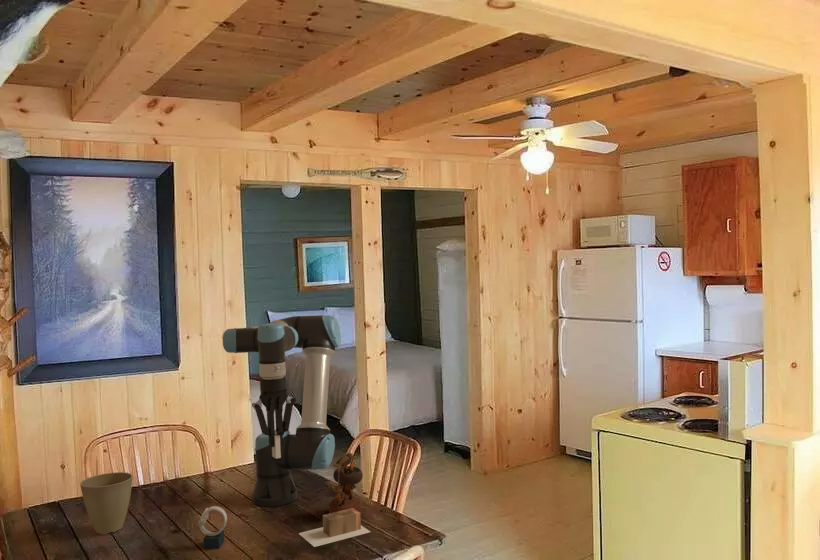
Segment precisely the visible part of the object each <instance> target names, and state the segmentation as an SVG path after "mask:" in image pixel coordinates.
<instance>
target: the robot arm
mask: <svg viewBox="0 0 820 560" xmlns="http://www.w3.org/2000/svg"><path fill="white" fill-rule="evenodd" d="M341 337H342V336H341V328H340V324H339V322H338V319H337V318H336V317H335V316H333V315H324V314H322V315H319V314H318V315H295V316H294V315H293V316H289V317H284V318H280V319H276V320H273V321H270V323H264V324H260V325H253V326H249V327H248V326H247V327H242V328H241V327H240V328H239V327H238V328H237V327H234V328H227V329H226V330H225V331H224V333H223V335H222V347H223V349H224V351H225V352H227V353H229V354H230V353H233V354H240V353H246V354H247V353H258V371H259V377H260V379H259V391H260V395H259V399H258V400H257V401H256V402H253V403H252V404H251V406H252V408H253V409H254V411H255V414H256V416H257V420H258V421H257V422H258V424H259V428H260V430H261V431H260V432H261V433H259V434H258V435H257V436H256V438H255V440H254V441H255V447H254V451H255V453H254V454H255V471H256V472H255V473H256V481H255V483H254V487H253V490H252V494H251V495H252V496H251V498H252V501H251V503H253V504H254V505H256V506H259V507H276V506H277V507H278V506H283V505H286V504H290V503H292V502H294V501H296V499H298V490H297V487H296V484H295V481H294V479H293V477H292V470H309V471H310V470H313V471H317V470H326V469H328V467H329V466H330V465H331V463H332V462H333V458H334V455H335V449H336V443H335V441H336V440H335V436H334V435H333V434H332V433H331V429H330V428H329V427H328V425H327V417H328V416H327V414H328V413H327V412H328V400H329V398H328V396H329V384H330V381H329V380H330V369H331V357H333V355H335V354H336V353H335V352H336V349H338V348H339V347H341V344H342V343H341V342H342V338H341ZM292 349H301V350H302V353H303V354H304V355H305V366H304V380H303V381H304V382H303V395H302V406H301V422H300V424H299V425H298V426H297V427H296V429H295V433H294V434H291V432H290V425H291V418H292V413H293V407H294V405H295V404H296V403H295V402H296V398H295V397H292V396H289V393H288V392H287V377H286V375H287V371H286V370H287V369H286V352H289V351H291V350H292ZM284 406H285V407H284ZM263 407H265V412H266V418H265V414H264V411H263ZM283 408H284V409H283ZM283 412H284V413H283Z"/></svg>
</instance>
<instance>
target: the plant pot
mask: <svg viewBox="0 0 820 560" xmlns="http://www.w3.org/2000/svg"><path fill="white" fill-rule="evenodd" d="M133 478H134V477H133V474H132V473H130V472H124V471H123V472H119V471H118V472H116V471H115V472H109V473H108V472H106V473H100V474H97V475H93V476H90V477H88V478H85V479H83V480H81V482H80V483H79V484H80V489H81V490H80V491H81V495H82V498H83V503H84V506H85V510H86V513H87V515H88V518H89V520H90V522H91V525H92V526H93V528H94V530H95V533H96V532H98V533H110V532H115V531H117V530H119V529H121V528H123V526H124V523H125V520H126V517H127V513H128V510H129V505H130V500H131V495H132V493H131V492H132V486H133ZM121 530H122V529H121ZM119 531H120V530H119ZM115 533H116V532H115Z"/></svg>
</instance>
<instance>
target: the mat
mask: <svg viewBox="0 0 820 560" xmlns="http://www.w3.org/2000/svg"><path fill="white" fill-rule="evenodd" d="M369 533H371V531H370V530H368V529H367V528H366V527H365V526H363V525H362V524H361V529H360V530H356V531H353V532H349V533H345V534H341V535H337V536H334V537H329V536H328V535H327V534H325V533H324V532H323V526H322V527H319V528H315V529H310V530H306V531H302V532H299V533H298V534H299V536H300V537H302V538H303V539H304V540H305V541H306V542H308V543H309V544H311V546H312V547H314V548H316V547H319V546H320V547H321V546H324V545H327V544H330V543H332V544H333V543H334V542H340V541H343V540H347V539H350V538H353V537H357V536H362V535H364V534H369Z"/></svg>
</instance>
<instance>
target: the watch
mask: <svg viewBox="0 0 820 560" xmlns="http://www.w3.org/2000/svg"><path fill="white" fill-rule="evenodd" d="M212 511H216V512H218V513H220V514H221V515H222V517H223V521H222V523H221V527H220V528H219V529H218V530H208V529H206V527H205V525H204V524H205V523H206V521H207V520H208V518H209V516H210V515H211V512H212ZM227 523H228V515H227V513H226V510H225V509H223V508H222V507H221V506H218V505H213V506H209V507H206V508H205V510H204V511H203V512H202V514H201V516H200V518H199V520H198V525H199V526H198V527H199V529H200V531H201V532H202V534H204V535H205V536H204V537H203V541H202V542H203V550H219V549H220V548H221V547H222V545H223V544H224V542H225V530H224V529H225V527H226V526H227Z"/></svg>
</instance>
